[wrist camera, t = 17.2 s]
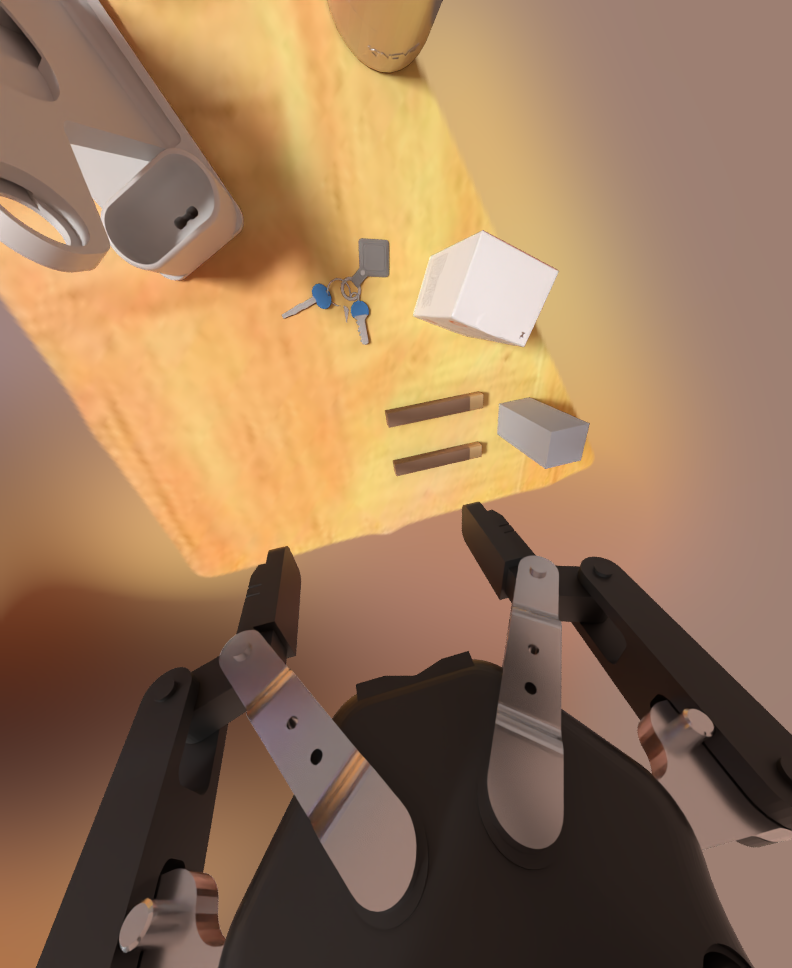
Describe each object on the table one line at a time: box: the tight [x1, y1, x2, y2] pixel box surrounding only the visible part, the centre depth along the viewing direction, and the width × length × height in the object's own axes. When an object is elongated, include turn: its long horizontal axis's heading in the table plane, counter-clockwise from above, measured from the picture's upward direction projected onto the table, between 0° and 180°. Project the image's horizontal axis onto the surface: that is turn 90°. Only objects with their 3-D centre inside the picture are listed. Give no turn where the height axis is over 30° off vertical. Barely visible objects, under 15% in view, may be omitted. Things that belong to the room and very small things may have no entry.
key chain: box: [282, 238, 389, 345], centre depth 34 cm, size 14×8×1 cm, turn 125°
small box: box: [413, 230, 559, 347], centre depth 30 cm, size 8×6×13 cm
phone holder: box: [0, 0, 244, 281], centre depth 17 cm, size 17×10×18 cm, turn 31°
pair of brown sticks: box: [385, 391, 483, 476], centre depth 44 cm, size 10×14×2 cm
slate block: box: [497, 397, 590, 469], centre depth 41 cm, size 5×5×12 cm
